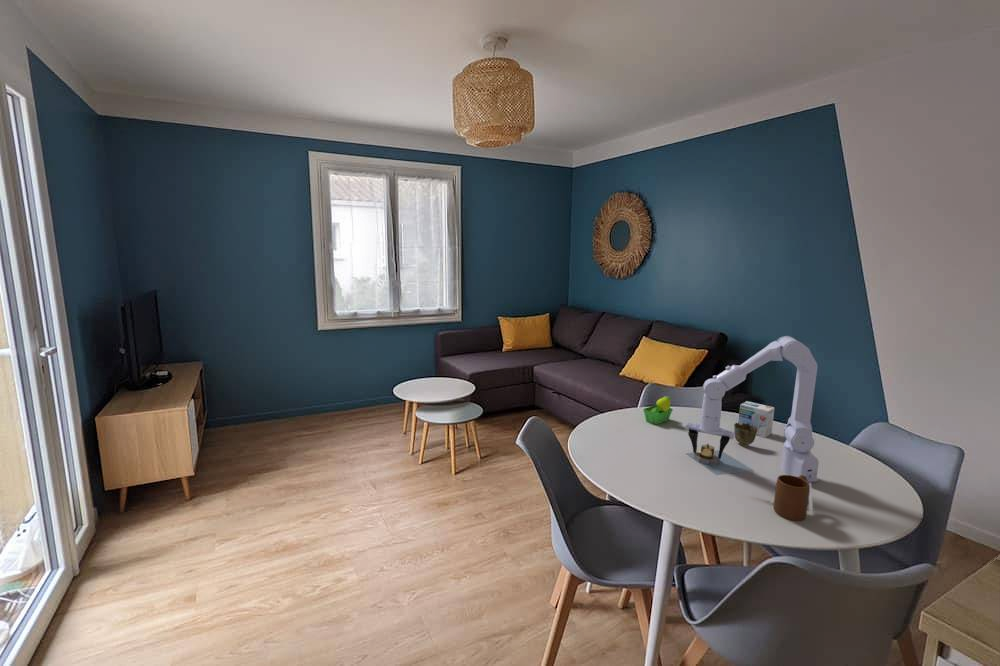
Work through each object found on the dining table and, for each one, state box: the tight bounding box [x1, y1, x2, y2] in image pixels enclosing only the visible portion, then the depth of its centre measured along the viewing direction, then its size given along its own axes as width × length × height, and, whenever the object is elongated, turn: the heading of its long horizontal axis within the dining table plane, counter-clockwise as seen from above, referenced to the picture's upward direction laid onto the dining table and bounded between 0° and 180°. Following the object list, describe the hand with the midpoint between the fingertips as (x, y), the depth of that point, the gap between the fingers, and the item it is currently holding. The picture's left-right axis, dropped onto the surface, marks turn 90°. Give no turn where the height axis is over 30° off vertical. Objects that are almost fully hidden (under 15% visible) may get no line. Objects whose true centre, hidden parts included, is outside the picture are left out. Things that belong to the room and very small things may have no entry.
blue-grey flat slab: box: [685, 449, 755, 476], centre depth 156 cm, size 16×14×2 cm
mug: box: [773, 474, 811, 521], centre depth 128 cm, size 12×8×9 cm, turn 128°
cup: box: [733, 422, 758, 447], centre depth 171 cm, size 8×7×8 cm
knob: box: [700, 443, 715, 460], centre depth 157 cm, size 4×4×5 cm
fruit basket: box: [642, 396, 674, 425], centre depth 195 cm, size 11×9×11 cm
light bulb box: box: [737, 400, 775, 438], centre depth 185 cm, size 11×7×11 cm, turn 42°
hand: (707, 454), depth 157 cm, fingers open, 7 cm apart
